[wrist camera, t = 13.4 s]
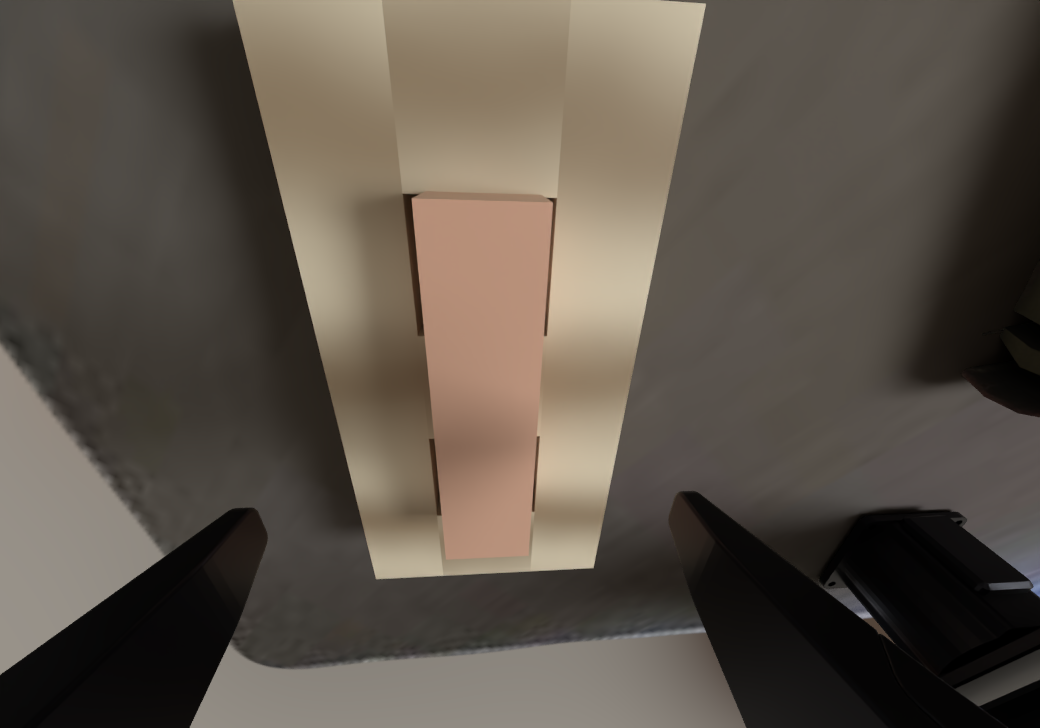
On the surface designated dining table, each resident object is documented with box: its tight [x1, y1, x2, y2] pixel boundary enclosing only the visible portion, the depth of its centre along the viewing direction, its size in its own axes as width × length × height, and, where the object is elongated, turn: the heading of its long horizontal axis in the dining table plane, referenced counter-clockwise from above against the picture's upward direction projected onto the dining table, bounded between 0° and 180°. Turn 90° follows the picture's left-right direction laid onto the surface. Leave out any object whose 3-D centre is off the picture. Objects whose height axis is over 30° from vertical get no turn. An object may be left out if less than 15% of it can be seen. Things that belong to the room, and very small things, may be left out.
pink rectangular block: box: [412, 191, 553, 560], centre depth 13 cm, size 12×3×5 cm, turn 178°
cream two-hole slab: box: [233, 0, 706, 579], centre depth 14 cm, size 20×10×3 cm, turn 178°
